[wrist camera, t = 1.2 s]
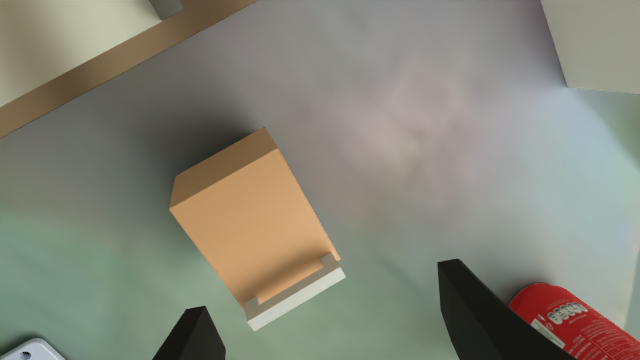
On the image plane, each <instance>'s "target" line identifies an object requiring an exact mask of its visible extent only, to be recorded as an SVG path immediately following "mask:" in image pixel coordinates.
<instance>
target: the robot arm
mask: <svg viewBox="0 0 640 360" xmlns="http://www.w3.org/2000/svg"><path fill="white" fill-rule="evenodd" d="M437 263H438V277H439V292H440V306H441V312H442V315H443V318H444V321H445V324H446V327H447V330H448V333H449V336H450V339H451V341H452V344H453V346H454V348H455V350H456V353H457V355H458V357H459V359H460V360H578V359H576V358H575V357H573V356H572V355H570V354H569V353H568V352H566V351H565V350H563V349H562V348H560V347H559V346H558V345H556V344H555V343H554V342H552V341H551V340H549V339H548V338H547V337H545V336H544V335H543V334H542V333H540V332H539V331H538V330H536V329H535V328H534V327H533V326H531V325H530V324H529V323H528V322H526V321H525V320H524V319H523V318H522V317H520V316H519V315H518V314H517V313H516V312H514V311H513V310H512V309H511V308H510V307H509V306H508V305H506V304H505V303H504V302H503V301H502V300H501V299H500V298H499V297H497V296H496V295H495V294H494V293H493V292H492V291H491V290H490V289H489V288H488V287H487V286H486V285H485V284H484V283H483V282H482V281H480V280H479V279H478V278H477V277H476V276H475V275H474V274H473V273H472V272H471V270H470V269H469V268H468V267H467V266H466V265H465V264H464V263H463V262H462V261H461V260H459V259H453V260H447V261H442V262H437ZM23 352H29V353H30V354H29V355H27V354H24V353H23ZM225 352H226V349H225V347H224V344H223V342H222V340H221V338H220V336H219V334H218V332H217V330H216V327H215V325H214V323H213V321H212V319H211V317H210V315H209V313H208V310H207V308H206V306H201V307H196V308H190V309H186V310H185V312H184V313H183V315H182V316H181V318H180V319H179V321H178V322H177V324H176V325H175V326H174V328H173V329H172V331H171V332H170V334H169V335H168V337H167V338H166V340H165V341H164V343H163V344H162V346H161V347H160V349H159V350H158V352H157V353H156V355H155V356H154V358H153V359H152V360H225ZM0 360H65V359H64V358H63V357H62V356H61V355H60V354H59V353H58V352H57V351H56V350H54V349H53V348H52V347H51V346H50V345H49V344H48V343H47V342H46V341H44V340H43V339H40V338H33V339H31V340H28V341H27V342H25V343H23V344H21V345H20V346H18V347H16V348H14V349H13V350H11V351H9V352H7V353H6V354H4V355H2V356H0Z"/></svg>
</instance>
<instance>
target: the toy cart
mask: <svg viewBox="0 0 640 360" xmlns="http://www.w3.org/2000/svg"><path fill="white" fill-rule="evenodd" d="M169 210H170V212H171V213H172V214H173V216H174V217H175V218H176V220H177V221H178V222H179V224H180V225H181V226H182V228H183V229H184V230H185V232H186V233H187V234H188V236H189V237H190V238H191V240H192V241H193V242H194V244H195V245H196V246H197V248H198V249H199V250H200V252H201V253H202V254H203V256H204V257H205V259H206V260H207V261H208V263H209V264H210V265H211V267H212V268H213V269H214V271H215V272H216V273H217V275H218V276H219V277H220V279H221V280H222V281H223V283H224V284H225V285H226V287H227V288H228V289H229V291H230V292H231V293H232V295H233V296H234V297H235V299H236V300H237V301H238V303H239V304H240V305H241V307H242V308H243V309H244V311H245V312H246V317H247V322H248V323H249V325H250V326H251V327H252V329H253V330H254V331H256V330H258V329H259V328H261V327H263V326H264V325H266V324H268V323H269V322H271V321H273V320H274V319H276V318H278V317H279V316H281V315H283V314H285V313H286V312H288V311H290V310H291V309H293V308H295V307H296V306H298V305H300V304H301V303H303V302H305V301H306V300H308V299H310V298H312V297H313V296H315V295H317V294H318V293H320V292H322V291H323V290H325V289H327V288H328V287H330V286H332V285H333V284H335V283H337V282H338V281H340V280H342V279H344V278H345V275H344V273H343V271H342V270H341V268H340V266H339V264H338V263H337V261H339V260H340V257H339V255H338V254H337V252H336V250H335V248H334V247H333V245H332V243H331V241H330V240H329V238H328V236H327V234H326V232H325V231H324V229H323V227H322V225H321V224H320V222H319V220H318V218H317V216H316V215H315V213H314V211H313V209H312V208H311V206H310V204H309V202H308V201H307V199H306V197H305V195H304V193H303V192H302V190H301V188H300V186H299V185H298V183H297V181H296V179H295V177H294V176H293V174H292V172H291V170H290V169H289V167H288V165H287V163H286V162H285V160H284V158H283V156H282V154H281V153H280V151H279V149H278V147H277V146H276V144H275V143H274V141H273V140H272V138H271V136H270V135H269V133H268V132H267V130H266V129H265V127H263V128H261V129H259V130H257V131H256V132H254V133H252V134H249V135H248V136H246V137H245V138H243V139H241V140H240V141H238V142H236V143H234V144H232V145H231V146H229V147H227V148H225V149H223V150H222V151H220V152H218V153H216V154H214V155H213V156H211V157H209V158H207V159H205V160H204V161H202V162H200V163H198V164H196V165H194V166H192V167H191V168H189V169H187V170H186V171H184V172H182V173H180V174H178V175H177V176H175V181H174V186H173V191H172V196H171V201H170V206H169Z"/></svg>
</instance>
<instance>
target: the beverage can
mask: <svg viewBox="0 0 640 360" xmlns="http://www.w3.org/2000/svg"><path fill="white" fill-rule="evenodd" d="M508 306H509V307H510V308H511V309H512V310H513V311H514V312H516V313H517V314H518V315H519V316H520V317H522V318H523V319H524V320H525V321H526V322H528V323H529V324H530V325H531V326H533V327H534V328H535V329H536V330H538V331H539V332H540V333H542V334H543V335H544V336H545V337H547V338H548V339H549V340H551V341H552V342H554V343H555V344H556V345H558V346H559V347H560V348H562V349H563V350H565V351H566V352H568V353H569V354H570V355H572V356H573V357H575V358H576V359H578V360H640V342H639V341H637V340H636V339H635V338H633V337H632V336H630V335H629V334H628V333H626V332H625V331H624V330H622V329H621V328H619V327H618V326H616V325H615V324H614V323H612V322H611V321H609V320H608V319H607V318H605V317H604V316H602V315H601V314H600V313H598V312H597V311H595V310H594V309H593V308H591V307H590V306H588V305H587V304H586V303H584V302H583V301H581V300H580V299H579V298H577V297H576V296H574V295H573V294H572V293H570V292H569V291H567V290H566V289H564V288H562V287H559V286H552V285H549V284H547V283H543V282H538V283H533V284H530V285H528V286H526V287H524V288H523V289H521V290H520V291H519V292H518V293H517V294H516V295H515V296H514V297H513V298H512V300H511V301H510V303H509V305H508Z"/></svg>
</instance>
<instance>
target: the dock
mask: <svg viewBox="0 0 640 360" xmlns="http://www.w3.org/2000/svg"><path fill="white" fill-rule="evenodd" d="M256 1H258V0H0V138H1V137H3V136H5V135H7V134H9V133H11V132H12V131H14V130H16V129H18V128H20V127H22V126H24V125H26V124H27V123H29V122H31V121H33V120H35V119H37V118H39V117H41V116H42V115H44V114H46V113H48V112H50V111H52V110H54V109H56V108H57V107H59V106H61V105H63V104H65V103H67V102H69V101H70V100H72V99H74V98H76V97H78V96H80V95H82V94H84V93H85V92H87V91H89V90H91V89H93V88H95V87H97V86H99V85H100V84H102V83H104V82H106V81H108V80H110V79H112V78H114V77H115V76H117V75H119V74H121V73H123V72H125V71H127V70H129V69H130V68H132V67H134V66H136V65H138V64H140V63H142V62H144V61H145V60H147V59H149V58H151V57H153V56H155V55H157V54H159V53H160V52H162V51H164V50H166V49H168V48H170V47H172V46H174V45H175V44H177V43H179V42H181V41H183V40H185V39H187V38H189V37H190V36H192V35H194V34H196V33H198V32H200V31H202V30H203V29H205V28H207V27H209V26H211V25H213V24H215V23H217V22H218V21H220V20H222V19H224V18H226V17H228V16H230V15H232V14H233V13H235V12H237V11H239V10H241V9H243V8H245V7H247V6H248V5H250V4H252V3H254V2H256Z"/></svg>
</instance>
